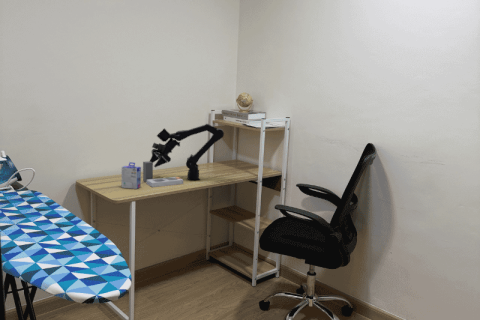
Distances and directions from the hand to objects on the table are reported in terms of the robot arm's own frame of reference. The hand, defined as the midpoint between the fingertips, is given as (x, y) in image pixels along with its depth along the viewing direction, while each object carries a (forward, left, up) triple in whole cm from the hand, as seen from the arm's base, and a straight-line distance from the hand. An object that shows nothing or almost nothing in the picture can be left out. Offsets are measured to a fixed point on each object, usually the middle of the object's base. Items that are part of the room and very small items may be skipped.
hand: (151, 165), depth 256 cm
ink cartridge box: (+17, +10, -10) cm, 22 cm away
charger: (+3, 0, -10) cm, 10 cm away
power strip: (-4, +10, -10) cm, 15 cm away
